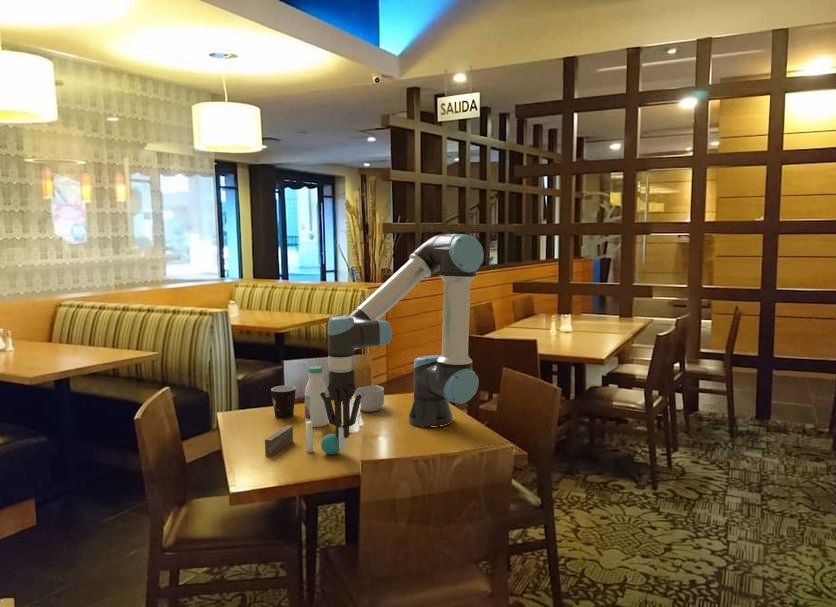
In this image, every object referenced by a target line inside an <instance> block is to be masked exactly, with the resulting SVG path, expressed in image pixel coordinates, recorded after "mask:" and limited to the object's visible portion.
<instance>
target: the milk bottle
mask: <svg viewBox="0 0 836 607" xmlns="http://www.w3.org/2000/svg"><path fill="white" fill-rule="evenodd" d="M322 374H323V367H322V366H319V365H317V366H316V365H315V366H309V367H308V375H309V377H308V381H307V383H306V386H305V388H304V389H305V390H304V418H305V419H304V422H305V425H306V422H309V421H311V422H312V425H313V428H323V427H325V426H327V425H328V423H329V420H328V416H327V412H326V408H325V404H324V400H323V399H322V397H321V395H320V394H321V393H322V392H323V391H326V390H327V389H328V387H327V386H326V383H325V382H324V378H323V375H322Z"/></svg>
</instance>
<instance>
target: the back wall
mask: <svg viewBox="0 0 836 607" xmlns="http://www.w3.org/2000/svg"><path fill="white" fill-rule="evenodd" d="M293 442H294V429H293V425H286V426H284V427H282V428H281V429H279V430H278V431H276V432H275V433H273V434H272V435H270V436H267V438H266V439H264V449H265V452H264V453H265V455H264V456H265V457H268V458H269V457H271V458H272V457H273V456H275V455H276V454H277V453H279V452H280V451H282V450H283V449H284V448H286V447H287V446H288V445H290V444H291V443H293Z"/></svg>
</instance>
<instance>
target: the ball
mask: <svg viewBox="0 0 836 607" xmlns="http://www.w3.org/2000/svg"><path fill="white" fill-rule="evenodd" d="M320 446H321V449H322V451H323V452H324V453H325V454H327V455H335V454H337V453H339V451H341V449H339V437H336V433H335V434H334V433H329V434H326V435H324V437H323V438H322V440H321V443H320Z"/></svg>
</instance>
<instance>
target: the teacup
mask: <svg viewBox="0 0 836 607" xmlns="http://www.w3.org/2000/svg"><path fill="white" fill-rule="evenodd" d="M384 388H385V387H384V386H381V385H368V386H361V387H358V388H356V390H357V391H358V392H359V393H363V394H364V396H363V398H362V399H361V401H360V403H361V409H360V410H361V411H362V412H366V413H370V412H373V413H374V412H377V411H379V410H380V409H381V408H382V407H383V406H384V404H385V393H384V392H385V389H384Z"/></svg>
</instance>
